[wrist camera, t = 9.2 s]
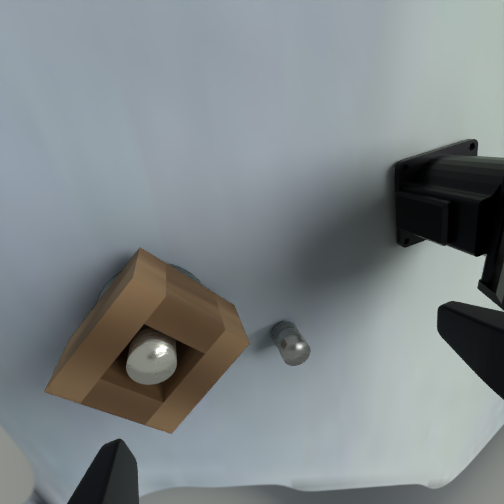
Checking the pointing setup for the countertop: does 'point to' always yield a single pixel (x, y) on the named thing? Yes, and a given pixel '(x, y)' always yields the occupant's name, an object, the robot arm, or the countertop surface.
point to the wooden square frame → (164, 320)
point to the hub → (151, 349)
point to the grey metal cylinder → (290, 343)
